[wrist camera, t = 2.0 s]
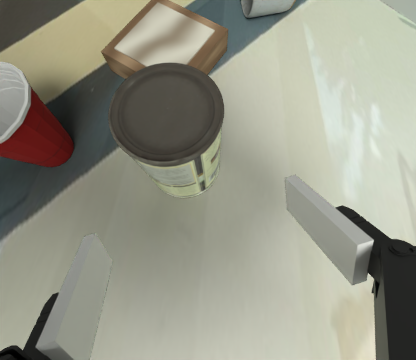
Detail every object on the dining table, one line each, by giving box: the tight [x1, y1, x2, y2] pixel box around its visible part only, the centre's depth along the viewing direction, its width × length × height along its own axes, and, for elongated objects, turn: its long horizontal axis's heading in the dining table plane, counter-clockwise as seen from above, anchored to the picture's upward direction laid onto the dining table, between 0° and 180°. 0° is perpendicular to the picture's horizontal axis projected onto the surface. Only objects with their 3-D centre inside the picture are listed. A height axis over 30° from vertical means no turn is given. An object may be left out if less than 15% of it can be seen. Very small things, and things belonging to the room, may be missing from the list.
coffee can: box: [108, 63, 224, 198], centre depth 27 cm, size 10×10×14 cm
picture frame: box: [101, 0, 228, 79], centre depth 37 cm, size 14×14×4 cm
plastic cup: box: [0, 62, 74, 167], centre depth 29 cm, size 11×11×12 cm
